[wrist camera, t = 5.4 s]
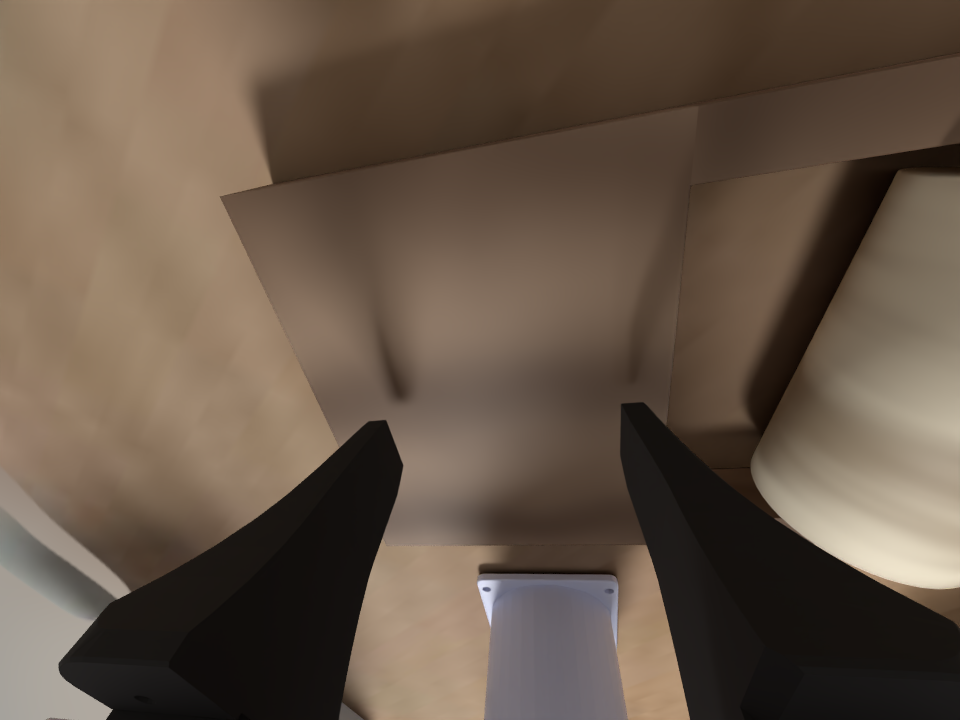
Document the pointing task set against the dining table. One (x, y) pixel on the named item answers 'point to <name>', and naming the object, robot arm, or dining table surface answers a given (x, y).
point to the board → (538, 292)
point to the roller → (881, 399)
